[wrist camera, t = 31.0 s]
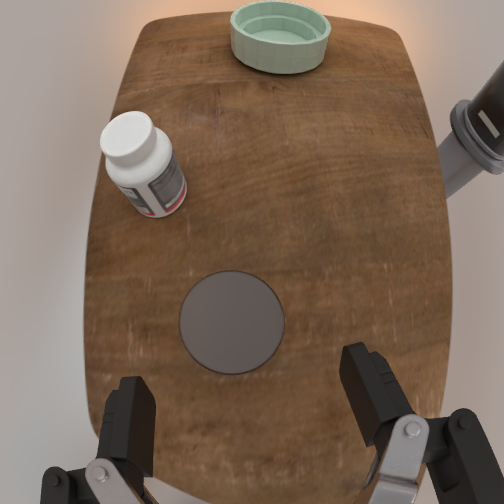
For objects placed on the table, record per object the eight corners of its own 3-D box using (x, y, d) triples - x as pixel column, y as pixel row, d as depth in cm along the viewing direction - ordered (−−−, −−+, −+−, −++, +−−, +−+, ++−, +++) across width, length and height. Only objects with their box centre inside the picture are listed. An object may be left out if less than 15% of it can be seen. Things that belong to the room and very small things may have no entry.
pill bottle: (180, 161, 28) (156, 94, 19) (193, 208, 27) (169, 147, 17) (130, 179, 27) (89, 121, 18) (139, 227, 26) (92, 177, 17)
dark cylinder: (261, 307, 25) (284, 270, 9) (261, 345, 24) (284, 375, 8) (222, 307, 25) (180, 268, 9) (222, 345, 24) (177, 372, 8)
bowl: (316, 32, 34) (322, 5, 29) (329, 82, 31) (339, 50, 26) (234, 28, 34) (233, -1, 29) (229, 77, 31) (227, 42, 26)
